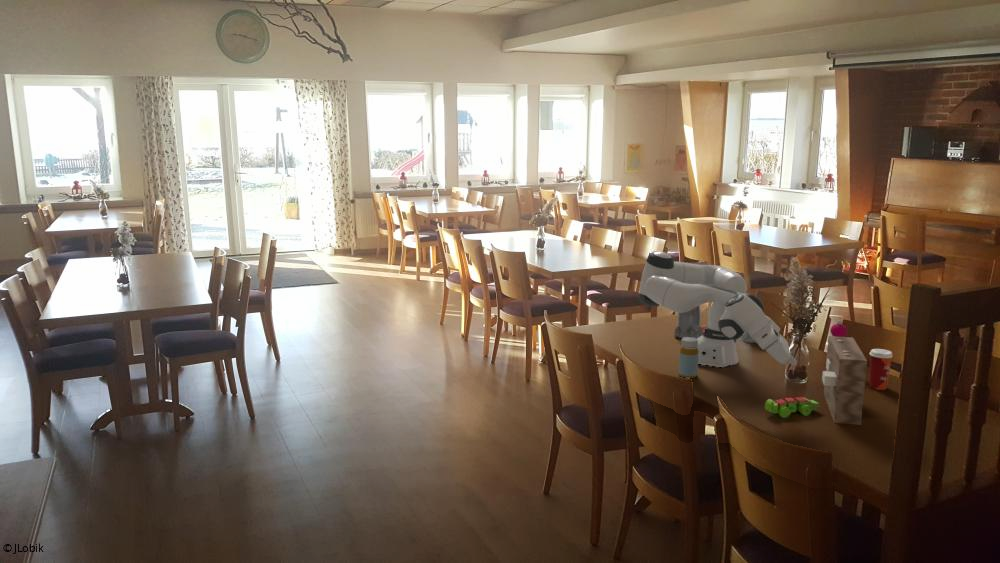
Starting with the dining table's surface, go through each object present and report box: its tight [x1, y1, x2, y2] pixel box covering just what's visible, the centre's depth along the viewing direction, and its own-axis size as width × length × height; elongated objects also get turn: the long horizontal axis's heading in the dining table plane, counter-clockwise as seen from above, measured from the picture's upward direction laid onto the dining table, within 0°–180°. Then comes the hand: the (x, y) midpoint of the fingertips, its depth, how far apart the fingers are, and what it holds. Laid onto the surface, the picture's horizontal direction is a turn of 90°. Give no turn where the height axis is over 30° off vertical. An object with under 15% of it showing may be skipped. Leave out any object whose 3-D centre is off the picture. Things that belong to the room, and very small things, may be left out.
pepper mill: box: [825, 320, 848, 360], centre depth 288 cm, size 7×7×20 cm
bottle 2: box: [678, 337, 699, 379], centre depth 283 cm, size 7×7×15 cm
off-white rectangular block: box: [821, 370, 837, 386], centre depth 243 cm, size 6×5×3 cm
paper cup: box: [868, 348, 894, 391], centre depth 268 cm, size 8×8×14 cm
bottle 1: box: [674, 305, 703, 339], centre depth 332 cm, size 13×13×28 cm
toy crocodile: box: [764, 396, 821, 419], centre depth 247 cm, size 20×7×6 cm, turn 101°
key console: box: [823, 335, 868, 426], centre depth 248 cm, size 8×26×22 cm, turn 164°
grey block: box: [825, 359, 830, 372], centre depth 255 cm, size 6×5×3 cm
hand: (795, 363), depth 244 cm, fingers closed
